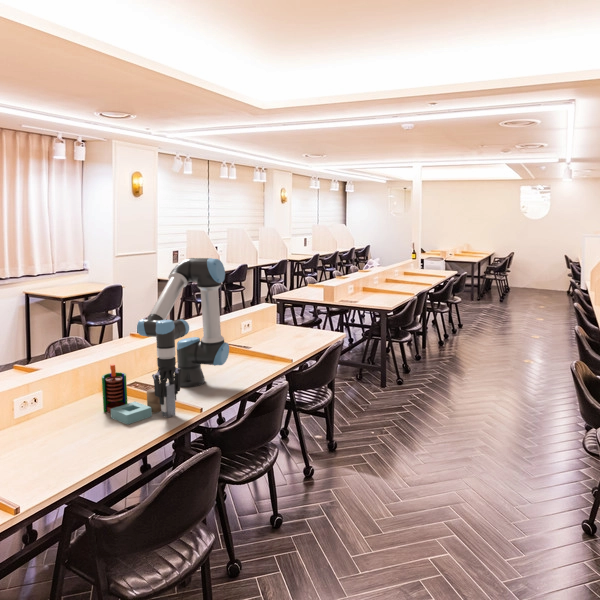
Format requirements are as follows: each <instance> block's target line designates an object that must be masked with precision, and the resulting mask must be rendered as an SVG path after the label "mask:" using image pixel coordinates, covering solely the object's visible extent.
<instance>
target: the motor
mask: <svg viewBox="0 0 600 600" xmlns="http://www.w3.org/2000/svg"><path fill="white" fill-rule="evenodd" d="M109 369H110V372H108V373H105V374H103V375H102V376H101V389H102V406H103V407H102V408H103V412H104V413H110V414H111V409H112V408H115V407H119V406H122V405H125V404H128V390H127V389H128V388H127V387H128V386H127V385H128V384H127V374H126V373H124V372H122V371H121V372H120V371H119V372H118V371H116V364H115V363H112V364H111V363H110V364H109Z"/></svg>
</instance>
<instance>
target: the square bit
mask: <svg viewBox="0 0 600 600" xmlns="http://www.w3.org/2000/svg"><path fill="white" fill-rule="evenodd" d="M164 397H166V409H167V412H163V411H161V416H162V417H163V418H166V419H170V418H173V417H175V416H176V409H175V406H176V401H175V390H174V384H172V383H169V381H167V382H166V386H165V396H164Z"/></svg>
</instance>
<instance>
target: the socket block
mask: <svg viewBox="0 0 600 600" xmlns="http://www.w3.org/2000/svg"><path fill="white" fill-rule="evenodd" d="M127 403H128V402H127ZM152 414H153V413H152V407H149V406H147V404H143V403H140V402H137V401H132V402H129V403H128V404H125V405H122V406H119V407H115V408H112V409H111V413H110V419H113V420H115V421H117V422H120V423H123V424H125V425H130V424H134V423H136V422H139V421H142V420H145V419H149V418H152V417H153V415H152Z"/></svg>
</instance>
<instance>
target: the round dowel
mask: <svg viewBox="0 0 600 600" xmlns="http://www.w3.org/2000/svg"><path fill="white" fill-rule="evenodd" d="M146 403H147V404H146V406H149V407H152V414H157V413H160V412H162V411H161V404H160V399H159V397H157V396H155V389H154V388H151V389H148V390H146Z"/></svg>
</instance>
